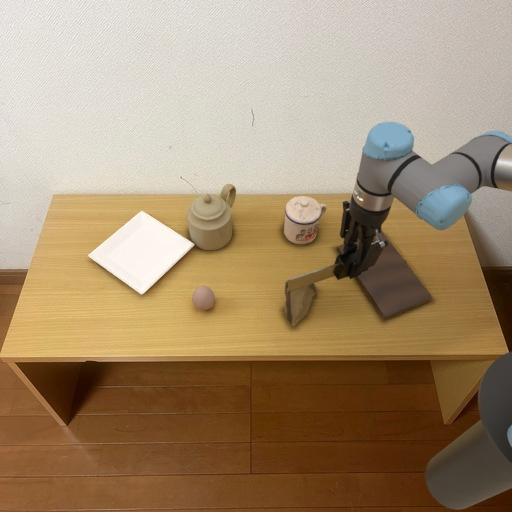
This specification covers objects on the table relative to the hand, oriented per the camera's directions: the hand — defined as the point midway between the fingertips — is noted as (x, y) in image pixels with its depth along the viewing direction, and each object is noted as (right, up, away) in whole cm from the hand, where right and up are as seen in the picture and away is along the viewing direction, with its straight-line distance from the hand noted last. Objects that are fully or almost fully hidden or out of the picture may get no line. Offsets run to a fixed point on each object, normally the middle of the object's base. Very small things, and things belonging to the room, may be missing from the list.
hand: (350, 269), depth 108 cm
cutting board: (+10, -1, +9) cm, 13 cm away
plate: (-50, +3, +12) cm, 51 cm away
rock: (-11, -9, +4) cm, 14 cm away
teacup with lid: (-9, +10, +17) cm, 22 cm away
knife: (-6, -2, -2) cm, 6 cm away
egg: (-33, -9, +4) cm, 35 cm away
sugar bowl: (-33, +10, +17) cm, 38 cm away
